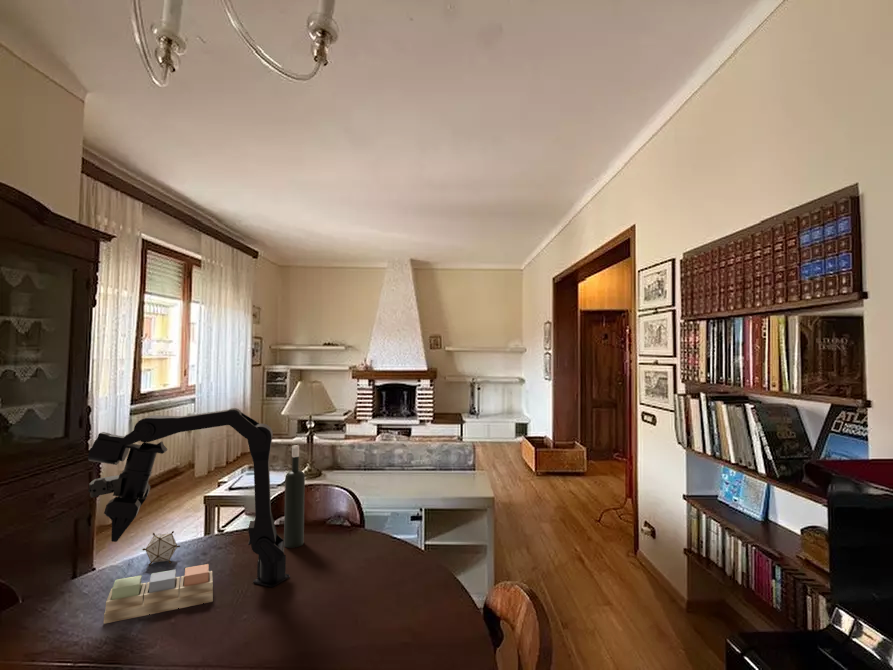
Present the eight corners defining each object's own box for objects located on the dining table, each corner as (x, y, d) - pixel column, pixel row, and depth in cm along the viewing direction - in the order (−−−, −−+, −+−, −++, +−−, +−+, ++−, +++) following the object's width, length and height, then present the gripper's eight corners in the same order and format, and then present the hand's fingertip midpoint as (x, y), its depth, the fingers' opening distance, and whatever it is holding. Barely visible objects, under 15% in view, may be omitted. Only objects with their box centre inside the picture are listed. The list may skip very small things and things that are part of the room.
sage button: (141, 588, 111) (141, 575, 111) (138, 598, 107) (138, 584, 107) (115, 593, 109) (115, 579, 109) (111, 603, 105) (112, 589, 105)
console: (212, 585, 120) (212, 568, 120) (212, 601, 112) (213, 584, 112) (111, 604, 110) (111, 586, 110) (103, 623, 102) (104, 604, 102)
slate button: (175, 582, 114) (175, 569, 115) (174, 591, 110) (174, 578, 110) (151, 586, 112) (151, 573, 112) (148, 596, 108) (149, 582, 108)
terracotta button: (208, 576, 118) (208, 563, 118) (208, 584, 113) (208, 572, 113) (185, 580, 115) (185, 567, 115) (184, 589, 111) (184, 576, 111)
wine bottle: (284, 541, 148) (286, 444, 150) (304, 540, 150) (305, 443, 151) (283, 548, 143) (285, 447, 144) (303, 547, 144) (304, 446, 145)
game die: (162, 578, 131) (157, 557, 126) (138, 564, 133) (132, 543, 128) (188, 551, 139) (185, 531, 133) (165, 538, 140) (160, 518, 135)
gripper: (108, 454, 120) (89, 517, 118) (88, 473, 103) (65, 546, 101) (158, 461, 124) (140, 521, 123) (146, 480, 107) (125, 550, 105)
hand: (118, 534), depth 113 cm, fingers open, 9 cm apart
